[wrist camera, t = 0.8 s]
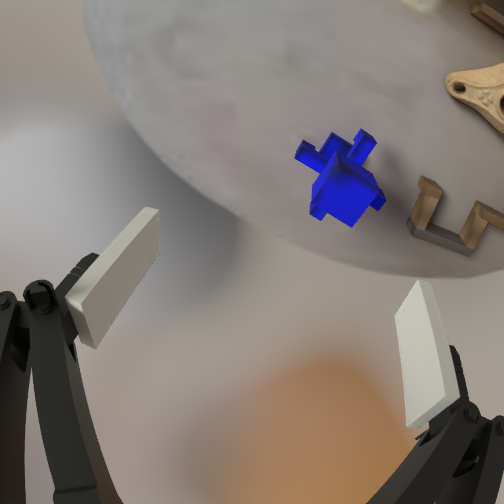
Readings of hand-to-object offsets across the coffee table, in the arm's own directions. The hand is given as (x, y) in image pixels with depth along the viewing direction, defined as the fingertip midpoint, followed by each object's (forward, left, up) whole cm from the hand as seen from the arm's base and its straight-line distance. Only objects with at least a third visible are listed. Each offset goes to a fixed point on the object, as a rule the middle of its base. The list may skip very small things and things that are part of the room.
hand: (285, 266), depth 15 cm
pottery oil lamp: (-14, +18, -23) cm, 33 cm away
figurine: (0, +4, -23) cm, 24 cm away
